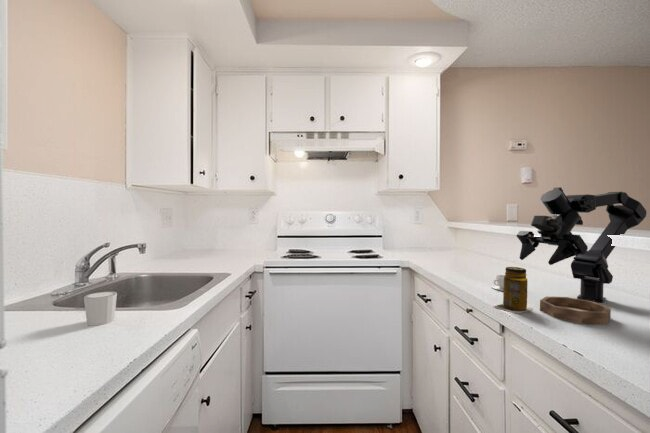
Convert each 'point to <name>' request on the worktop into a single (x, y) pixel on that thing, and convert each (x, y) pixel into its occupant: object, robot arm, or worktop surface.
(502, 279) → the teacup
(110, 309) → the shot glass
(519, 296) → the condiment
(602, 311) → the ring seat
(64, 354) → the worktop surface
